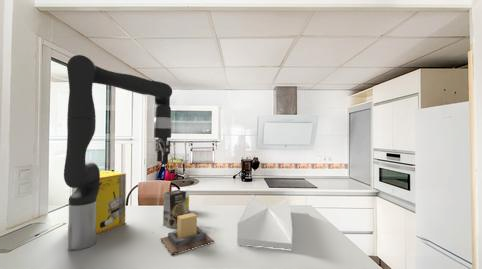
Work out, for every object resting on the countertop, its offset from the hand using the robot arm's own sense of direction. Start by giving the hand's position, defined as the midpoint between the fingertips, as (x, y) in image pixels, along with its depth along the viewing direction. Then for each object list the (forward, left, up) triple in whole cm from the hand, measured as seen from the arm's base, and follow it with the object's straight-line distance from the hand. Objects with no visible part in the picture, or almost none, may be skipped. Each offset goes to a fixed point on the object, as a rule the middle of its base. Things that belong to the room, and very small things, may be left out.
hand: (162, 162), depth 105 cm
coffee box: (+8, +5, -32) cm, 34 cm away
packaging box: (-23, +23, -32) cm, 46 cm away
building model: (+46, -23, -33) cm, 61 cm away
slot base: (+6, -16, -32) cm, 36 cm away
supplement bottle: (+18, +19, -32) cm, 42 cm away
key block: (+6, -16, -31) cm, 35 cm away
